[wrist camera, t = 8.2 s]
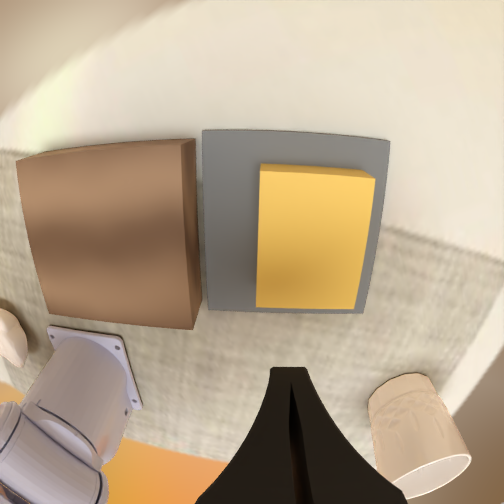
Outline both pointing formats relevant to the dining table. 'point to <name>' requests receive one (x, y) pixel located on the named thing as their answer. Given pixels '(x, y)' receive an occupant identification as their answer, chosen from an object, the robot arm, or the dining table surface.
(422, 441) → the white cup
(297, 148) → the mat
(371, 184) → the yellow cuboid
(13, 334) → the dumpling
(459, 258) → the dining table surface
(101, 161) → the brown cuboid
